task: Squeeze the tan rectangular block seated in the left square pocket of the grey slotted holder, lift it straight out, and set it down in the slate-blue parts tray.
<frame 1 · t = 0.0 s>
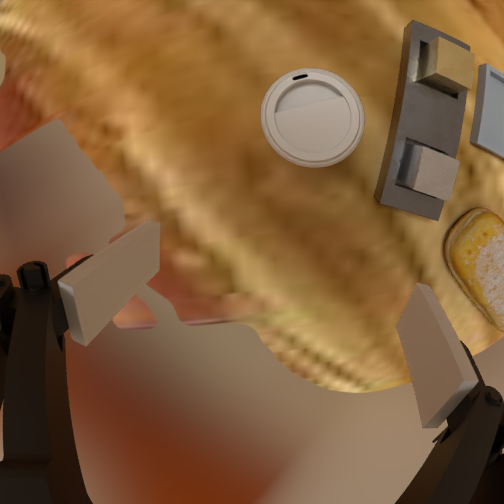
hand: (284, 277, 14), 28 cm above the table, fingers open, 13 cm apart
bread: (489, 265, 37), on the table
grey slotted holder: (422, 118, 32), on the table
tan rectangular block: (431, 72, 28), point 1 cm above the table, touching grey slotted holder
grey rectangular block: (415, 165, 34), point 1 cm above the table, touching grey slotted holder
coffee cup: (312, 121, 36), on the table
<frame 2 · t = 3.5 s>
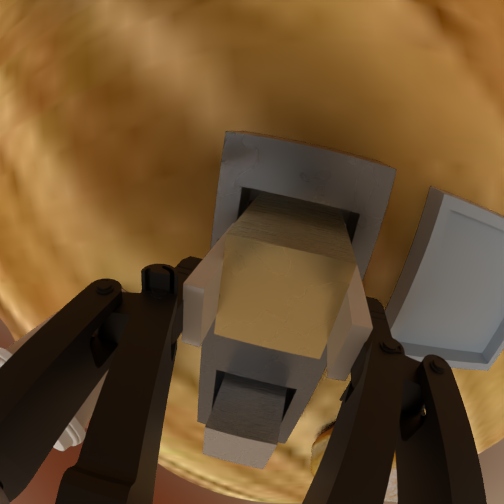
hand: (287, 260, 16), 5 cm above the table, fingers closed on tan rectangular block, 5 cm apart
bread: (396, 444, 29), on the table
grey slotted holder: (274, 312, 23), on the table
parts tray: (466, 287, 19), on the table
tan rectangular block: (292, 235, 19), point 1 cm above the table, touching gripper, grey slotted holder
grey rectangular block: (256, 378, 25), point 1 cm above the table, touching grey slotted holder
coffee cup: (117, 309, 27), on the table
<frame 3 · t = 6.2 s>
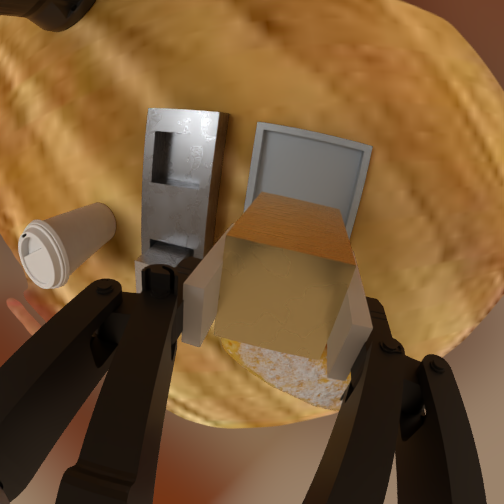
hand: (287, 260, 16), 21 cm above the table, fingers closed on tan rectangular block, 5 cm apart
bread: (306, 343, 45), on the table
grey slotted holder: (185, 207, 39), on the table
parts tray: (305, 184, 34), on the table
tan rectangular block: (292, 236, 19), point 17 cm above the table, touching gripper
grey rectangular block: (179, 256, 41), point 1 cm above the table, touching grey slotted holder
coffee cup: (101, 221, 43), on the table
when the fingers open (6 cm above the table, at t = 8.8 s): tan rectangular block drops 2 cm, resting on parts tray.
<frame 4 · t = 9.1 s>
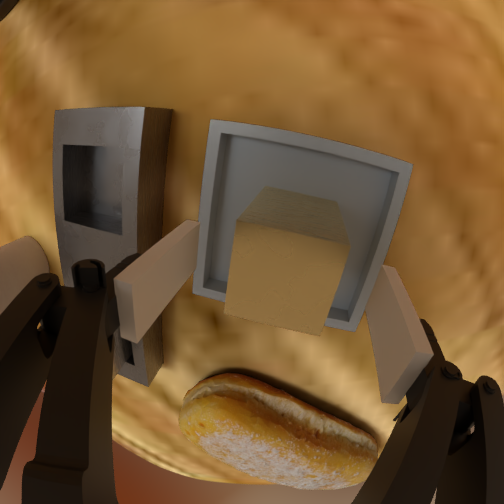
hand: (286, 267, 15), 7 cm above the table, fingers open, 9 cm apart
bread: (292, 421, 31), on the table
grey slotted holder: (119, 251, 25), on the table
parts tray: (295, 223, 21), on the table
tan rectangular block: (294, 227, 20), point 1 cm above the table, touching parts tray
grey rectangular block: (119, 315, 28), point 1 cm above the table, touching grey slotted holder
coffee cup: (35, 259, 29), on the table
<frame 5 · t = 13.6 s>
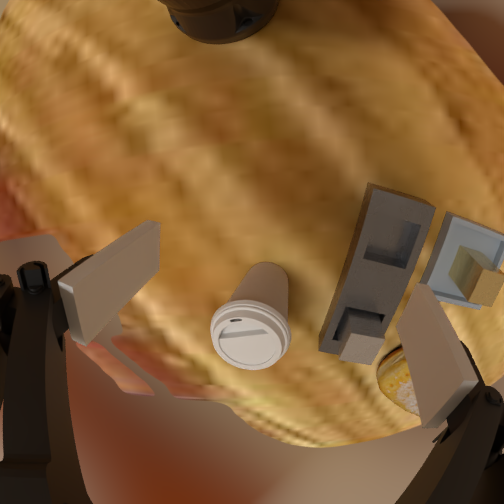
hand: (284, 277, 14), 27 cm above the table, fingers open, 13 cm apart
bread: (425, 374, 47), on the table
grey slotted holder: (370, 274, 41), on the table
parts tray: (463, 261, 37), on the table
tan rectangular block: (465, 263, 36), point 1 cm above the table, touching parts tray
grey rectangular block: (356, 316, 43), point 1 cm above the table, touching grey slotted holder
coffee cup: (267, 280, 45), on the table
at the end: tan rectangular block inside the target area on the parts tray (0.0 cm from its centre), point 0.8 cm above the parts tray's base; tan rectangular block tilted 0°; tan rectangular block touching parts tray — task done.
